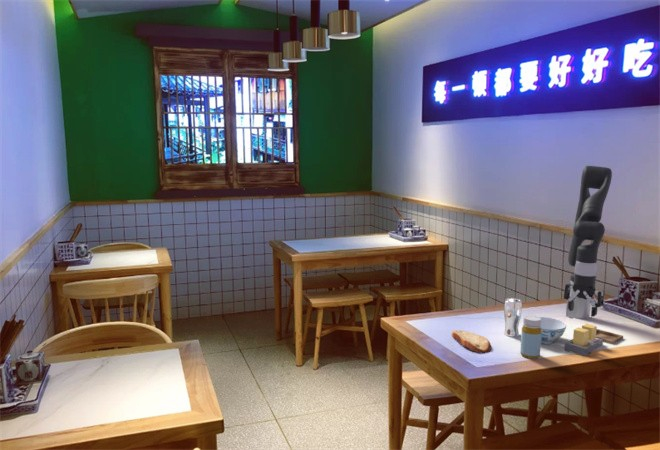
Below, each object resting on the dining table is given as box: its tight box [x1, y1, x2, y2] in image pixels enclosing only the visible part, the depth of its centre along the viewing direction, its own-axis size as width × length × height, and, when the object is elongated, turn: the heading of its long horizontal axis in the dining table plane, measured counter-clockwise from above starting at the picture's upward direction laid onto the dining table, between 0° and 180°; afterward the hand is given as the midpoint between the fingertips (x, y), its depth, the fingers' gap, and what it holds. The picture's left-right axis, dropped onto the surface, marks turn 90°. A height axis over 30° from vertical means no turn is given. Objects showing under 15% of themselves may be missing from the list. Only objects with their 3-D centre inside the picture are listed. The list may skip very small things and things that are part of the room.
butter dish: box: [564, 323, 604, 357], centre depth 212 cm, size 8×15×8 cm, turn 130°
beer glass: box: [503, 297, 523, 338], centre depth 227 cm, size 7×7×15 cm
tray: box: [596, 328, 624, 345], centre depth 222 cm, size 11×10×2 cm
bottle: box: [519, 314, 542, 360], centre depth 204 cm, size 7×7×15 cm
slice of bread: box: [451, 329, 492, 354], centre depth 218 cm, size 18×18×4 cm
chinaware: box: [539, 316, 567, 345], centre depth 220 cm, size 15×15×8 cm
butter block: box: [572, 327, 589, 347], centre depth 210 cm, size 4×4×8 cm
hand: (582, 313), depth 208 cm, fingers open, 8 cm apart
